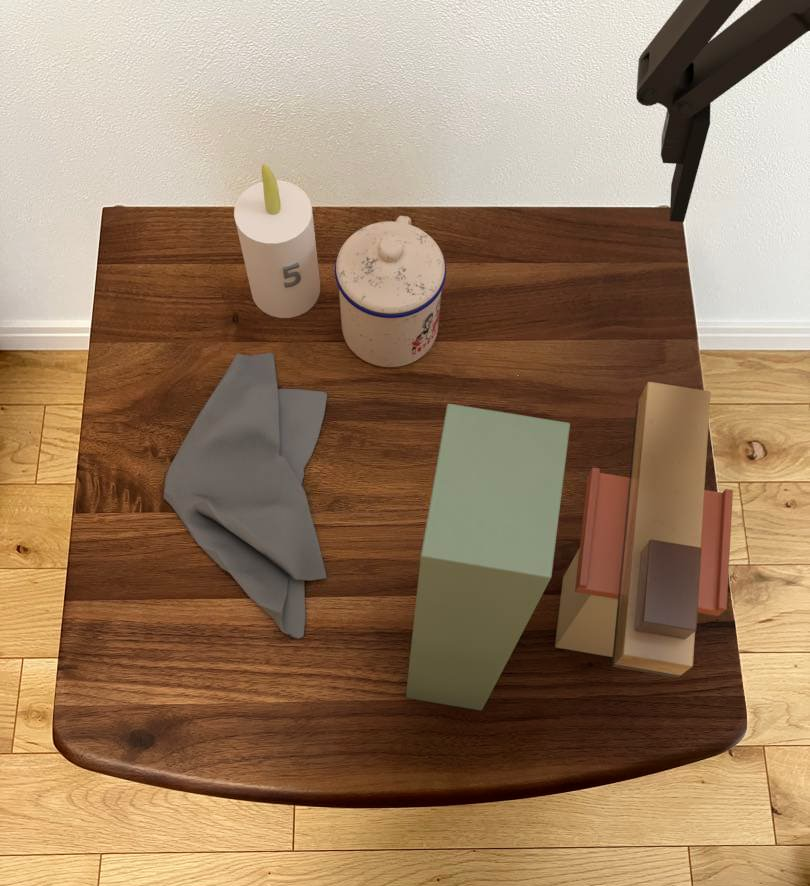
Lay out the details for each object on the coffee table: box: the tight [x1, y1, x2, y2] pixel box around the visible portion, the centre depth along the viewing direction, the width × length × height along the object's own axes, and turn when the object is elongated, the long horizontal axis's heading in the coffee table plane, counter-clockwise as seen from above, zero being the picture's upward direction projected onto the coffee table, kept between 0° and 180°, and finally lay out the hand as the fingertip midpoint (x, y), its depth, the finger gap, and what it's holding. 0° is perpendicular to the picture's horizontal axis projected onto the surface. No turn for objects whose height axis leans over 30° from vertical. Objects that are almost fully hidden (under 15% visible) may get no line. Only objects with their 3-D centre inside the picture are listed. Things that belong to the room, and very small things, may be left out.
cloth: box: [163, 352, 328, 640], centre depth 79 cm, size 26×14×2 cm, turn 0°
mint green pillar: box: [405, 403, 571, 712], centre depth 60 cm, size 6×8×33 cm
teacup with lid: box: [334, 215, 447, 368], centre depth 81 cm, size 12×9×12 cm
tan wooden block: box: [611, 381, 712, 679], centre depth 58 cm, size 4×18×5 cm, turn 170°
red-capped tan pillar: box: [554, 467, 734, 658], centre depth 68 cm, size 9×8×19 cm
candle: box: [233, 163, 321, 319], centre depth 80 cm, size 6×6×15 cm
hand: (805, 211), depth 52 cm, fingers open, 13 cm apart
